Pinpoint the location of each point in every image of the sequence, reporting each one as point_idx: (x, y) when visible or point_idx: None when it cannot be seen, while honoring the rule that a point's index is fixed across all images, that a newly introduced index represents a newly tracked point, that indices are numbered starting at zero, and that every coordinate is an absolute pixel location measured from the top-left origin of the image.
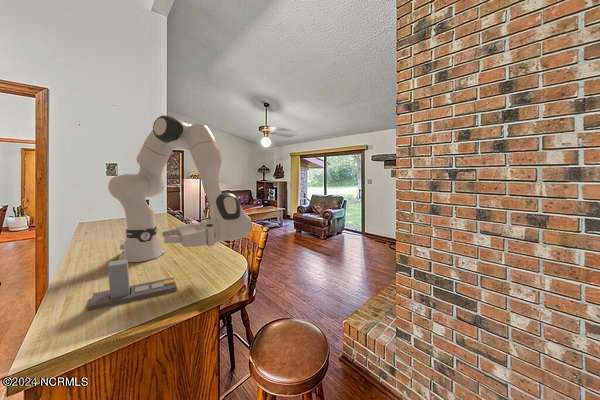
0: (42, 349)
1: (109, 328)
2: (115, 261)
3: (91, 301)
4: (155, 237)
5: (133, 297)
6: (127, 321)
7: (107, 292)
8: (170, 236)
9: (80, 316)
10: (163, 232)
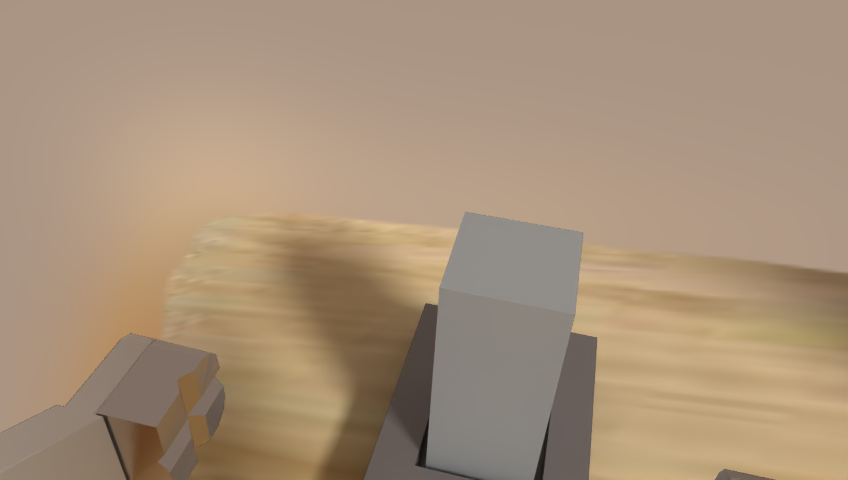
0: (265, 232)
1: None
2: (562, 253)
3: None
4: None
5: (367, 474)
6: None
7: (558, 382)
8: (127, 419)
9: None
10: (724, 478)
